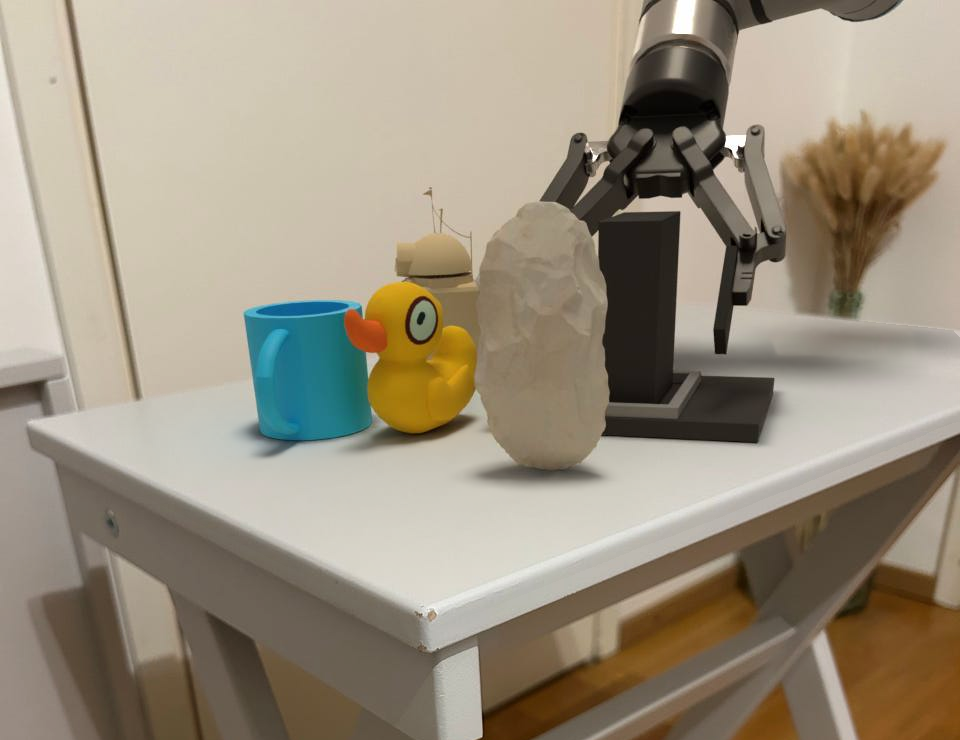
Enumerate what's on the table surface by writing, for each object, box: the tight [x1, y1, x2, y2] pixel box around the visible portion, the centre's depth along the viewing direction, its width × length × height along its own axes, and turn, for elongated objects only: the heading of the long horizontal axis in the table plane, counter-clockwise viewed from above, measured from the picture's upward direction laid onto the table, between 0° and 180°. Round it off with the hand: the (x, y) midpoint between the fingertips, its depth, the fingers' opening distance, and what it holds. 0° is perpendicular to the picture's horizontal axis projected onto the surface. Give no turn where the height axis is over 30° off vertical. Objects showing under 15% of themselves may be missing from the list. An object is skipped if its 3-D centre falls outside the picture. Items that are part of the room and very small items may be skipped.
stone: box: [474, 200, 610, 471], centre depth 57 cm, size 8×5×15 cm
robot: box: [394, 186, 481, 361], centre depth 82 cm, size 10×8×15 cm
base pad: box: [601, 369, 775, 443], centre depth 72 cm, size 18×14×2 cm
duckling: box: [344, 281, 477, 434], centre depth 68 cm, size 11×5×10 cm, turn 140°
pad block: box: [597, 210, 682, 404], centre depth 69 cm, size 4×8×12 cm, turn 161°
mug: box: [243, 299, 373, 441], centre depth 69 cm, size 12×8×8 cm
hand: (631, 340), depth 67 cm, fingers open, 11 cm apart
